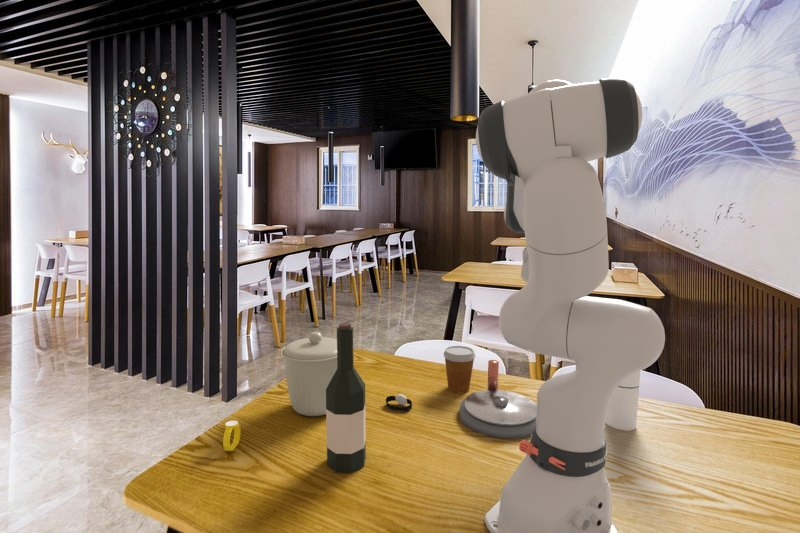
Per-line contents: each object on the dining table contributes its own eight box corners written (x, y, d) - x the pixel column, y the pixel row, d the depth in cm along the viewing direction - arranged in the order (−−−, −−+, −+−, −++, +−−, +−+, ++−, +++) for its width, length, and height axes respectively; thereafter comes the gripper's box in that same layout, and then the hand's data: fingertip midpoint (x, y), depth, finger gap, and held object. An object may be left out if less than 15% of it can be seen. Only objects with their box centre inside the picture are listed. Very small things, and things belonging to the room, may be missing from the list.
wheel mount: (505, 448, 96) (505, 439, 96) (442, 413, 113) (442, 405, 112) (559, 421, 108) (560, 413, 108) (495, 393, 125) (496, 386, 125)
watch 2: (415, 407, 116) (415, 395, 116) (407, 414, 112) (407, 401, 112) (390, 402, 120) (390, 389, 119) (382, 408, 116) (382, 396, 115)
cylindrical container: (628, 417, 111) (635, 323, 108) (641, 431, 104) (649, 331, 101) (600, 416, 111) (606, 322, 108) (610, 429, 104) (617, 330, 101)
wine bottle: (323, 455, 93) (320, 321, 89) (360, 448, 96) (359, 317, 92) (331, 477, 85) (328, 331, 81) (371, 468, 88) (370, 327, 84)
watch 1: (232, 442, 99) (231, 417, 98) (243, 442, 99) (243, 417, 98) (220, 454, 93) (219, 428, 92) (232, 455, 93) (232, 428, 92)
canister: (314, 431, 103) (312, 347, 100) (268, 410, 114) (265, 334, 111) (364, 405, 117) (363, 330, 115) (319, 388, 128) (317, 320, 126)
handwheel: (548, 426, 101) (550, 387, 100) (472, 426, 101) (473, 388, 100) (523, 392, 120) (524, 359, 119) (458, 393, 120) (459, 360, 119)
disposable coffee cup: (437, 385, 131) (437, 347, 129) (463, 380, 135) (464, 343, 133) (453, 397, 122) (454, 357, 121) (481, 391, 126) (482, 352, 125)
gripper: (528, 245, 101) (526, 302, 103) (609, 245, 104) (605, 301, 105) (518, 243, 108) (516, 297, 109) (594, 243, 110) (591, 296, 112)
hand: (560, 299), depth 107 cm, fingers open, 8 cm apart
